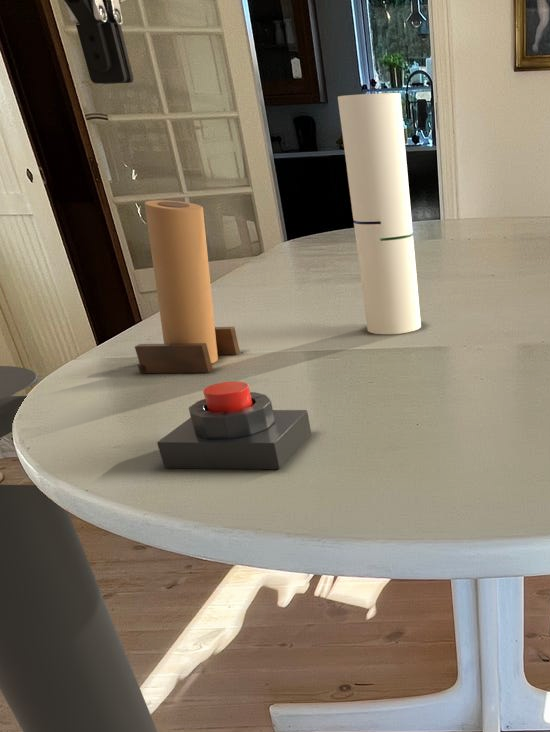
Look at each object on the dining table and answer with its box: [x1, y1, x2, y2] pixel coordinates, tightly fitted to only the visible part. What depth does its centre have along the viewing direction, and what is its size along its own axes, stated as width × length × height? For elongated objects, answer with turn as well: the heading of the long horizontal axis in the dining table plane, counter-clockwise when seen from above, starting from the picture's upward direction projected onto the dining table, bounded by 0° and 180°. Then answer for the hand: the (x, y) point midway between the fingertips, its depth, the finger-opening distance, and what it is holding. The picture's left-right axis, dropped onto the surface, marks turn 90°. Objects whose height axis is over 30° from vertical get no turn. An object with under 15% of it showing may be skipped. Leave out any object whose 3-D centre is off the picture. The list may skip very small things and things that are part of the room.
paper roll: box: [144, 199, 219, 364], centre depth 83 cm, size 6×6×16 cm
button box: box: [156, 391, 312, 470], centre depth 62 cm, size 10×8×4 cm
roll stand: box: [134, 326, 241, 374], centre depth 87 cm, size 8×9×3 cm
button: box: [202, 381, 253, 413], centre depth 61 cm, size 4×4×2 cm
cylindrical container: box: [337, 92, 422, 335], centre depth 91 cm, size 7×7×25 cm
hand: (113, 82), depth 65 cm, fingers closed
